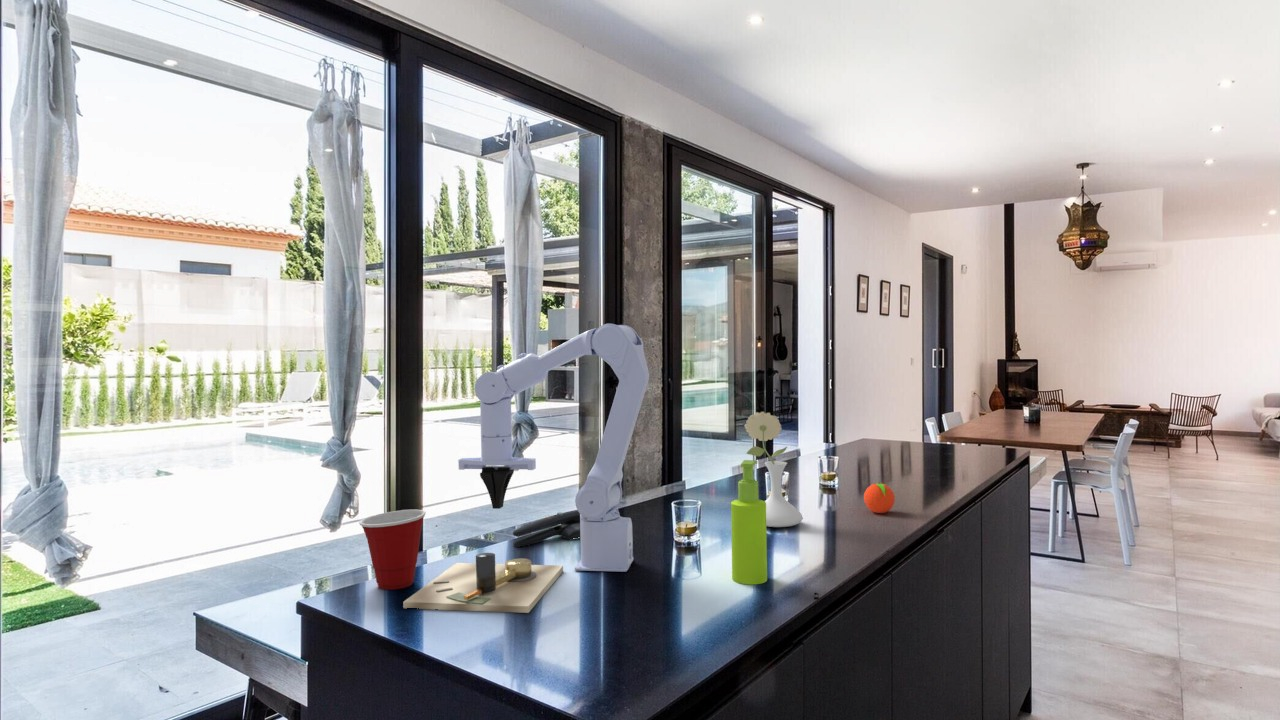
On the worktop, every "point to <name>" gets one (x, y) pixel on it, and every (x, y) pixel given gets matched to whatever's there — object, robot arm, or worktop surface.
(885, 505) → the clementine
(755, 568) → the soap dispenser
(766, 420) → the flower in vase
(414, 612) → the worktop surface
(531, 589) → the dial board
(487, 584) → the lever
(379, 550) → the plastic cup
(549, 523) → the can opener
